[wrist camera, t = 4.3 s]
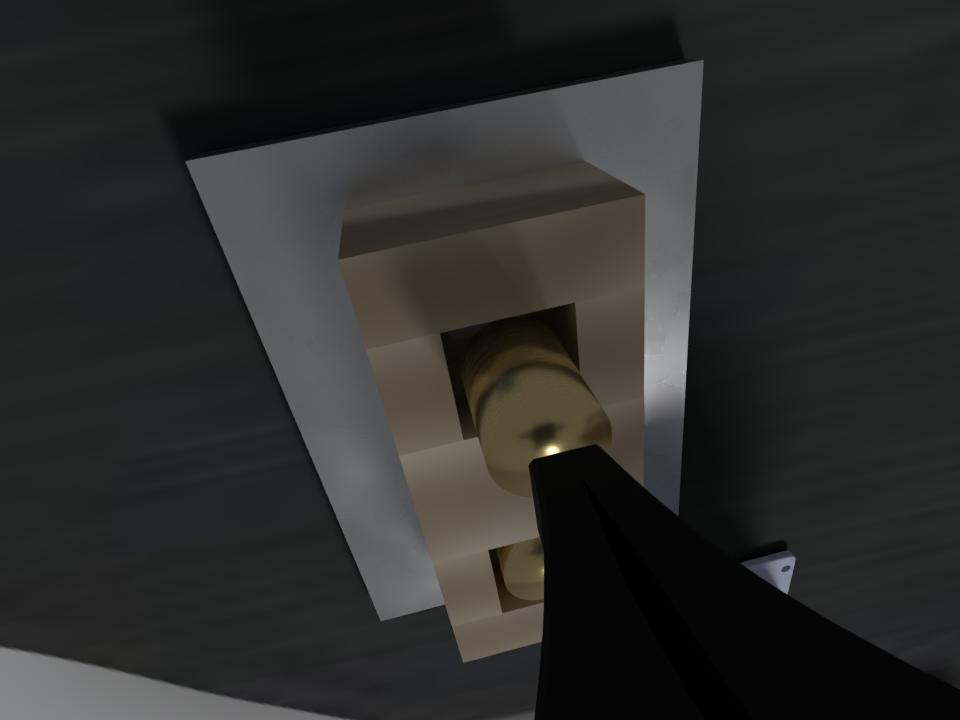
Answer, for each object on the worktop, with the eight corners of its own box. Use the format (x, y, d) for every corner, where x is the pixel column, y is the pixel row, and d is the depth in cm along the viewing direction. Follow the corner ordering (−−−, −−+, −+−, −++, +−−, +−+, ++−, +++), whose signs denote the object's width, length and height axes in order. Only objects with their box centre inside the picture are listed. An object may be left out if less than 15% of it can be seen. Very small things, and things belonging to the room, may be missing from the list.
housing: (603, 532, 24) (642, 613, 21) (449, 572, 24) (463, 662, 20) (584, 160, 16) (645, 194, 12) (343, 210, 15) (338, 259, 12)
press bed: (666, 526, 26) (677, 543, 25) (380, 601, 25) (381, 621, 24) (685, 58, 16) (703, 59, 15) (195, 154, 15) (185, 161, 14)
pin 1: (564, 393, 16) (613, 480, 12) (468, 416, 15) (495, 510, 12) (556, 305, 14) (610, 380, 11) (450, 330, 14) (475, 412, 11)
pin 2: (556, 512, 22) (587, 588, 19) (489, 529, 22) (510, 608, 19) (550, 461, 21) (582, 534, 18) (479, 479, 20) (499, 556, 17)
